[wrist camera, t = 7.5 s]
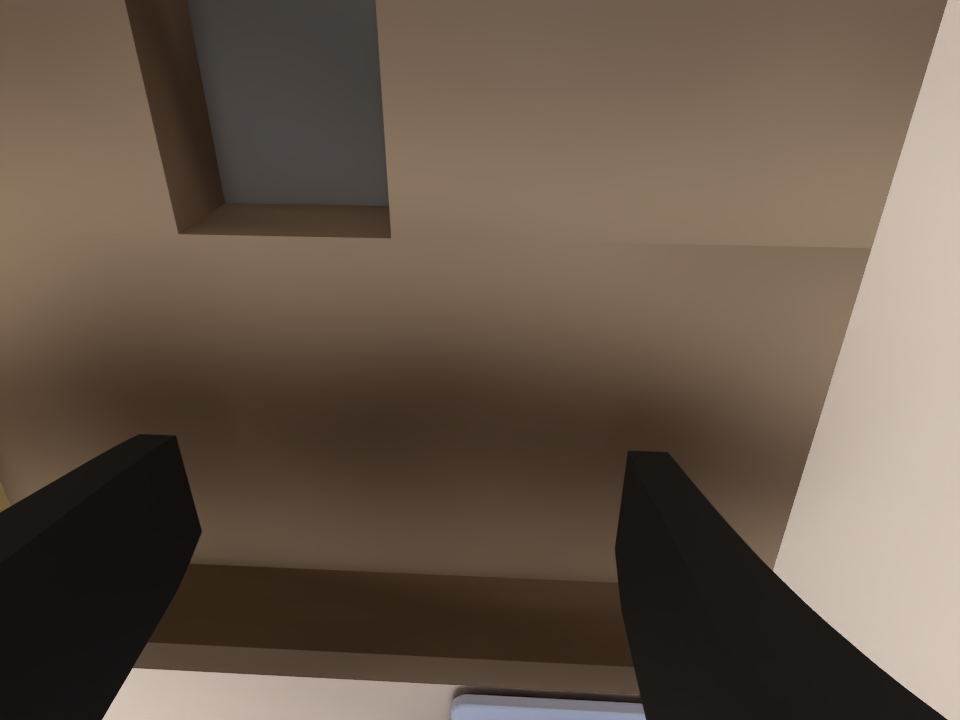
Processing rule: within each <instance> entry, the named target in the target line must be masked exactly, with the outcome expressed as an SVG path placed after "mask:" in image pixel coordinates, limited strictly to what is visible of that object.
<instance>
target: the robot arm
mask: <svg viewBox="0 0 960 720" xmlns="http://www.w3.org/2000/svg"><path fill="white" fill-rule="evenodd" d="M201 533H202V529H201V526H200V522H199V518H198V515H197V511H196V507H195V504H194V500H193V496H192V493H191V489H190V485H189V482H188V478H187V474H186V470H185V467H184V463H183V459H182V456H181V452H180V448H179V445H178V441H177V437H176V435H151V434H139V435H137V436H134V437H132V438H130V439H128V440H126V441H124V442H122V443H120V444H118V445H116V446H115V447H113V448H111V449H109V450H107V451H105V452H104V453H102V454H100V455H98V456H97V457H95V458H93V459H91V460H90V461H88V462H86V463H84V464H83V465H81V466H79V467H77V468H76V469H74V470H72V471H71V472H69V473H67V474H65V475H64V476H62V477H60V478H59V479H57V480H55V481H53V482H52V483H50V484H48V485H46V486H45V487H43V488H41V489H40V490H38V491H36V492H34V493H33V494H31V495H29V496H27V497H26V498H24V499H22V500H20V501H19V502H17V503H15V504H14V505H12V506H10V507H8V508H7V509H5V510H3V511H1V512H0V720H102V719H103V717H104V715H105V713H106V712H107V710H108V708H109V707H110V705H111V703H112V702H113V700H114V698H115V697H116V695H117V693H118V691H119V690H120V688H121V686H122V685H123V683H124V681H125V680H126V678H127V676H128V675H129V673H130V671H131V669H132V668H133V666H134V664H135V663H136V661H137V659H138V658H139V656H140V654H141V653H142V651H143V649H144V648H145V646H146V644H147V642H148V641H149V639H150V637H151V636H152V634H153V632H154V631H155V629H156V627H157V625H158V624H159V622H160V620H161V618H162V617H163V615H164V613H165V611H166V610H167V608H168V606H169V605H170V603H171V601H172V599H173V597H174V596H175V594H176V592H177V590H178V588H179V586H180V584H181V582H182V579H183V577H184V575H185V573H186V570H187V568H188V566H189V563H190V561H191V558H192V556H193V553H194V551H195V548H196V546H197V543H198V541H199V538H200V536H201ZM615 557H616V567H617V577H618V586H619V595H620V604H621V611H622V616H623V620H624V625H625V629H626V634H627V638H628V643H629V647H630V652H631V656H632V661H633V665H634V670H635V674H636V678H637V683H638V687H639V691H640V696H641V700H642V703H624V702H605V701H586V700H568V699H549V698H530V697H511V696H493V695H474V694H464V695H460V696H458V697H456V698H455V699H454V700H453V701H452V705H451V720H947V719H946V718H944V717H943V716H942V715H940V714H939V713H938V712H936V711H935V710H934V709H932V708H931V707H930V706H929V705H927V704H926V703H925V702H923V701H922V700H921V699H919V698H918V697H917V696H915V695H914V694H913V693H911V692H910V691H909V690H907V689H906V688H905V687H903V686H902V685H901V684H900V683H898V682H897V681H896V680H895V679H893V678H892V677H891V676H890V675H888V674H887V673H886V672H885V671H883V670H882V669H881V668H880V667H878V666H877V665H876V664H875V663H873V662H872V661H871V660H870V659H869V658H868V657H866V656H865V655H864V654H863V653H862V652H861V651H859V650H858V649H857V648H856V647H855V646H854V645H852V644H851V643H850V642H849V641H848V640H847V639H845V638H844V637H843V636H842V635H841V634H839V633H838V632H837V631H836V630H835V629H834V628H832V627H831V626H830V625H829V624H828V623H827V622H826V621H824V620H823V619H822V618H821V617H820V616H819V615H818V614H817V613H816V612H815V611H813V610H812V609H811V608H810V607H809V606H808V605H807V604H806V603H805V602H804V601H803V600H802V599H801V598H800V597H799V596H798V595H797V594H796V593H795V592H794V591H792V590H791V589H790V588H789V587H788V586H787V585H786V584H785V583H784V582H783V581H782V580H781V579H780V578H779V577H778V576H777V575H776V574H775V573H774V572H773V571H772V570H771V569H770V568H769V567H768V566H767V565H766V564H765V562H764V561H763V560H762V559H761V558H760V557H759V556H758V555H757V554H756V553H755V552H754V551H753V550H752V549H751V548H750V546H749V545H748V544H747V543H746V542H745V541H744V540H743V539H742V538H741V537H740V536H739V534H738V533H737V532H736V531H735V530H734V529H733V528H732V527H731V526H730V525H729V523H728V522H727V521H726V520H725V519H724V518H723V517H722V515H721V514H720V513H719V512H718V511H717V510H716V509H715V507H714V506H713V505H712V504H711V503H710V501H709V500H708V499H707V498H706V497H705V496H704V494H703V493H702V492H701V491H700V490H699V488H698V487H697V486H696V485H695V484H694V482H693V481H692V480H691V479H690V478H689V476H688V475H687V474H686V473H685V472H684V470H683V469H682V468H681V467H680V465H679V464H678V463H677V462H676V461H675V460H674V458H673V457H672V456H671V455H670V454H669V453H668V452H654V451H628V453H627V460H626V468H625V475H624V483H623V490H622V498H621V505H620V513H619V520H618V528H617V535H616V543H615Z"/></svg>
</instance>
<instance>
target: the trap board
mask: <svg viewBox="0 0 960 720" xmlns="http://www.w3.org/2000/svg"><path fill="white" fill-rule="evenodd" d="M946 4H947V0H0V482H1V484H2V487H3V489H4V491H5V493H6V496H7V498H8V500H9V502H10V504H11V506H12V505H14V504H15V503H17V502H19V501H20V500H22V499H24V498H26V497H27V496H29V495H31V494H33V493H34V492H36V491H38V490H40V489H41V488H43V487H45V486H46V485H48V484H50V483H52V482H53V481H55V480H57V479H59V478H60V477H62V476H64V475H65V474H67V473H69V472H71V471H72V470H74V469H76V468H77V467H79V466H81V465H83V464H84V463H86V462H88V461H90V460H91V459H93V458H95V457H97V456H98V455H100V454H102V453H104V452H105V451H107V450H109V449H111V448H113V447H115V446H116V445H118V444H120V443H122V442H124V441H126V440H128V439H130V438H132V437H134V436H137V435H139V434H151V435H176V437H177V441H178V445H179V448H180V452H181V456H182V459H183V463H184V467H185V470H186V474H187V478H188V482H189V485H190V489H191V493H192V496H193V500H194V504H195V507H196V511H197V515H198V518H199V522H200V526H201V529H202V533H201V536H200V538H199V541H198V543H197V546H196V548H195V551H194V553H193V556H192V558H191V561H190V563H189V566H188V568H187V570H186V573H185V575H184V577H183V579H182V582H181V584H180V586H179V588H178V590H177V592H176V594H175V596H174V597H173V599H172V601H171V603H170V605H169V606H168V608H167V610H166V611H165V613H164V615H163V617H162V618H161V620H160V622H159V624H158V625H157V627H156V629H155V631H154V632H153V634H152V636H151V637H150V639H149V641H148V642H147V644H146V646H145V648H144V649H143V651H142V653H141V654H140V656H139V658H138V659H137V661H136V663H135V664H134V666H133V668H144V669H163V670H182V671H201V672H220V673H239V674H258V675H277V676H296V677H315V678H334V679H353V680H372V681H391V682H410V683H429V684H448V685H467V686H486V687H505V688H524V689H543V690H562V691H581V692H599V693H618V694H637V695H640V691H639V687H638V683H637V678H636V674H635V670H634V665H633V661H632V656H631V652H630V647H629V643H628V638H627V634H626V629H625V625H624V620H623V616H622V611H621V604H620V595H619V586H618V577H617V567H616V557H615V543H616V535H617V528H618V520H619V513H620V505H621V498H622V490H623V483H624V475H625V468H626V460H627V453H628V451H654V452H668V453H669V454H670V455H671V456H672V457H673V458H674V460H675V461H676V462H677V463H678V464H679V465H680V467H681V468H682V469H683V470H684V472H685V473H686V474H687V475H688V476H689V478H690V479H691V480H692V481H693V482H694V484H695V485H696V486H697V487H698V488H699V490H700V491H701V492H702V493H703V494H704V496H705V497H706V498H707V499H708V500H709V501H710V503H711V504H712V505H713V506H714V507H715V509H716V510H717V511H718V512H719V513H720V514H721V515H722V517H723V518H724V519H725V520H726V521H727V522H728V523H729V525H730V526H731V527H732V528H733V529H734V530H735V531H736V532H737V533H738V534H739V536H740V537H741V538H742V539H743V540H744V541H745V542H746V543H747V544H748V545H749V546H750V548H751V549H752V550H753V551H754V552H755V553H756V554H757V555H758V556H759V557H760V558H761V559H762V560H763V561H764V562H765V564H766V565H767V566H768V567H769V568H770V569H771V570H772V571H773V568H774V565H775V561H776V558H777V555H778V552H779V548H780V545H781V542H782V539H783V535H784V532H785V529H786V525H787V522H788V519H789V516H790V512H791V509H792V506H793V503H794V499H795V496H796V493H797V490H798V486H799V483H800V480H801V477H802V473H803V470H804V467H805V464H806V460H807V457H808V454H809V450H810V447H811V444H812V441H813V437H814V434H815V431H816V428H817V424H818V421H819V418H820V415H821V411H822V408H823V405H824V402H825V398H826V395H827V392H828V388H829V385H830V382H831V379H832V375H833V372H834V369H835V366H836V362H837V359H838V356H839V353H840V349H841V346H842V343H843V340H844V336H845V333H846V330H847V326H848V323H849V320H850V317H851V313H852V310H853V307H854V304H855V300H856V297H857V294H858V291H859V287H860V284H861V281H862V278H863V274H864V271H865V268H866V264H867V261H868V258H869V255H870V251H871V248H872V245H873V242H874V238H875V235H876V232H877V229H878V225H879V222H880V219H881V216H882V212H883V209H884V206H885V203H886V199H887V196H888V193H889V189H890V186H891V183H892V180H893V176H894V173H895V170H896V167H897V163H898V160H899V157H900V154H901V150H902V147H903V144H904V141H905V137H906V134H907V131H908V127H909V124H910V121H911V118H912V114H913V111H914V108H915V105H916V101H917V98H918V95H919V92H920V88H921V85H922V82H923V79H924V75H925V72H926V69H927V65H928V62H929V59H930V56H931V52H932V49H933V46H934V43H935V39H936V36H937V33H938V30H939V26H940V23H941V20H942V17H943V13H944V10H945V7H946Z"/></svg>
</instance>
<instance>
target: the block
mask: <svg viewBox="0 0 960 720" xmlns="http://www.w3.org/2000/svg"><path fill="white" fill-rule="evenodd" d="M10 506H11V504H10V502H9V500H8V498H7V496H6V493H5V491H4V489H3V487H2V484H1V482H0V512H1V511H3V510H5V509H7V508H8V507H10Z"/></svg>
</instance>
